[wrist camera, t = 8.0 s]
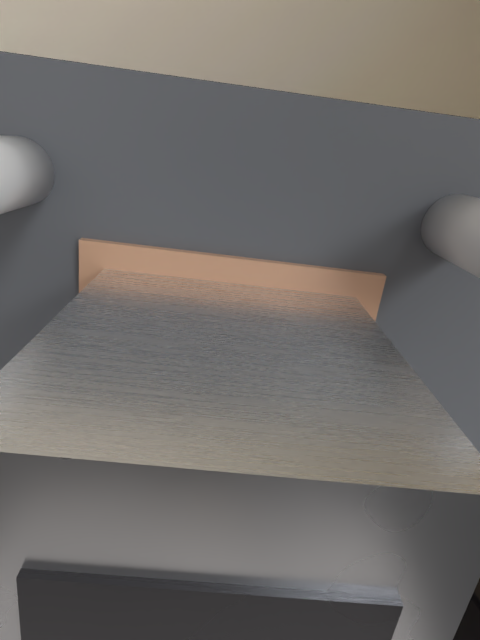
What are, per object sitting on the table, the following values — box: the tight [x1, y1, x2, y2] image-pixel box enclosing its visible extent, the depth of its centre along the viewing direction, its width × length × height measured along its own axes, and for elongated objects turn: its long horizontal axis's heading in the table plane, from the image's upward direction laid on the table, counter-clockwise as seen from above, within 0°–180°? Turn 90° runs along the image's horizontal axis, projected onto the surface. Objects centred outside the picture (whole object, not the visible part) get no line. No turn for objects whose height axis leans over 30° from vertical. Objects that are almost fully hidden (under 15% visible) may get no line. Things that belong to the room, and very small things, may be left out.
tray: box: [0, 51, 480, 453], centre depth 10 cm, size 13×16×4 cm
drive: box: [0, 269, 480, 640], centre depth 8 cm, size 5×9×6 cm, turn 173°
